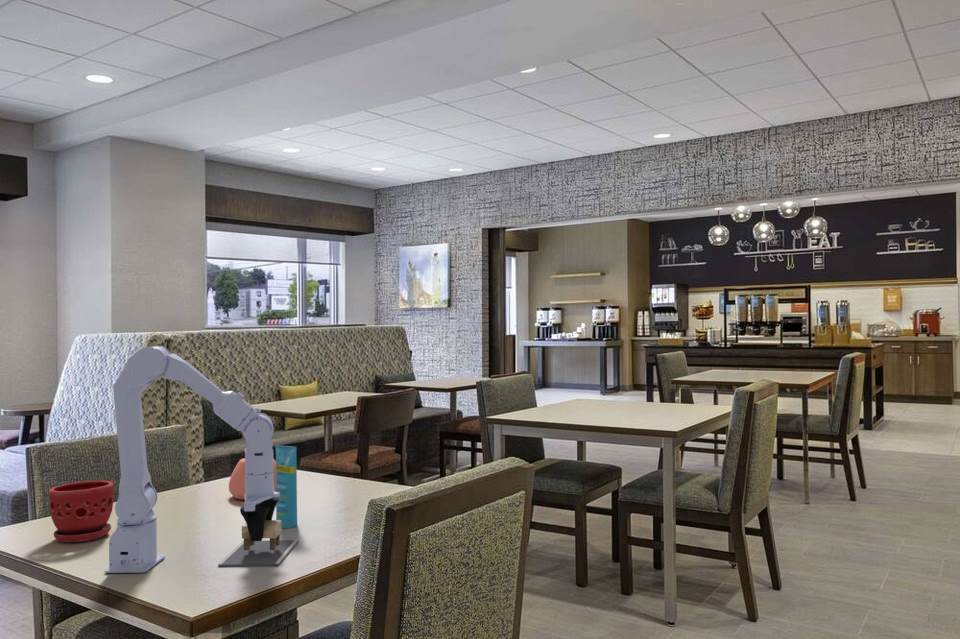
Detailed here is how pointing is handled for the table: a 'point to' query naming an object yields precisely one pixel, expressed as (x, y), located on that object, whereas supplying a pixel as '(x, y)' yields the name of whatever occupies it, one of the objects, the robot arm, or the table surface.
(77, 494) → the plant pot
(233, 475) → the teapot
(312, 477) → the table surface
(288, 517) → the tube
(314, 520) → the table surface
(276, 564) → the mat
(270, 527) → the stool
